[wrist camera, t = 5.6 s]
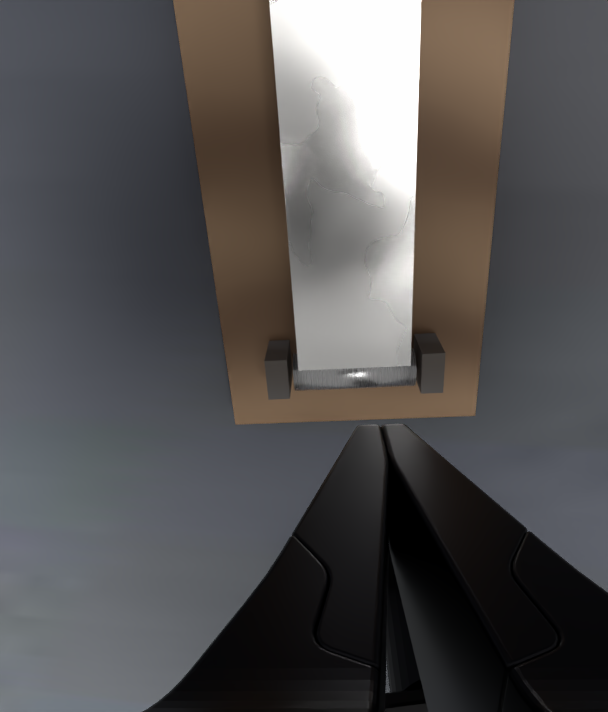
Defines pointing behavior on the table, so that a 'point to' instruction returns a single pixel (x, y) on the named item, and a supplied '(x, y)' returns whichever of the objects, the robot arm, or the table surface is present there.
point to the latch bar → (349, 185)
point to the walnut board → (268, 212)
